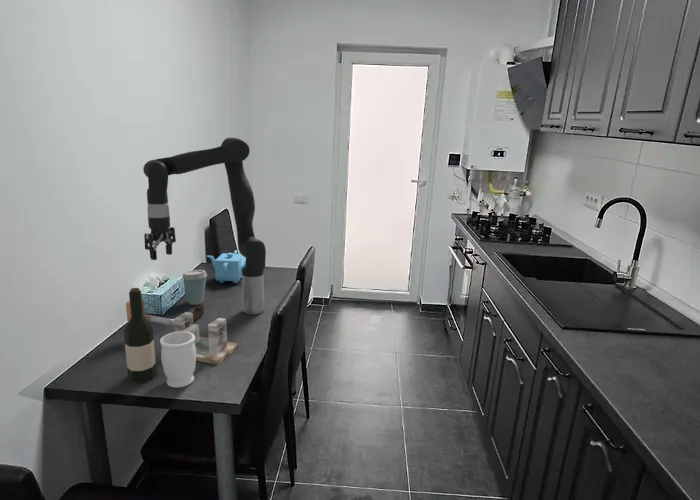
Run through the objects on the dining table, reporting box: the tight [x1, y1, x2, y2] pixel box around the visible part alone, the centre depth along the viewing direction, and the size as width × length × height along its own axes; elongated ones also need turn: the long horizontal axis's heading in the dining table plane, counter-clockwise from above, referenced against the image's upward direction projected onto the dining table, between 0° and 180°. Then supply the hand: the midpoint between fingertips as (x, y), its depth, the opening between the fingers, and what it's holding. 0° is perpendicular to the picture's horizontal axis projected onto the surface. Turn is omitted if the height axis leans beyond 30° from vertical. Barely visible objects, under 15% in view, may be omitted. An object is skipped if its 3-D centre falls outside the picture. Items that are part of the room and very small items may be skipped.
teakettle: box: [206, 249, 246, 284], centre depth 242 cm, size 19×19×15 cm
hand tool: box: [191, 304, 205, 323], centre depth 191 cm, size 19×4×5 cm, turn 169°
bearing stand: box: [173, 311, 240, 366], centre depth 165 cm, size 14×22×12 cm, turn 73°
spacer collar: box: [183, 323, 200, 344], centre depth 167 cm, size 6×2×6 cm, turn 162°
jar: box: [159, 331, 197, 388], centre depth 145 cm, size 11×10×15 cm
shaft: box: [125, 300, 186, 327], centre depth 170 cm, size 4×24×8 cm, turn 73°
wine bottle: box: [123, 287, 157, 383], centre depth 145 cm, size 8×8×30 cm
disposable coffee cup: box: [182, 269, 208, 306], centre depth 210 cm, size 11×11×15 cm
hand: (161, 256), depth 175 cm, fingers open, 8 cm apart
